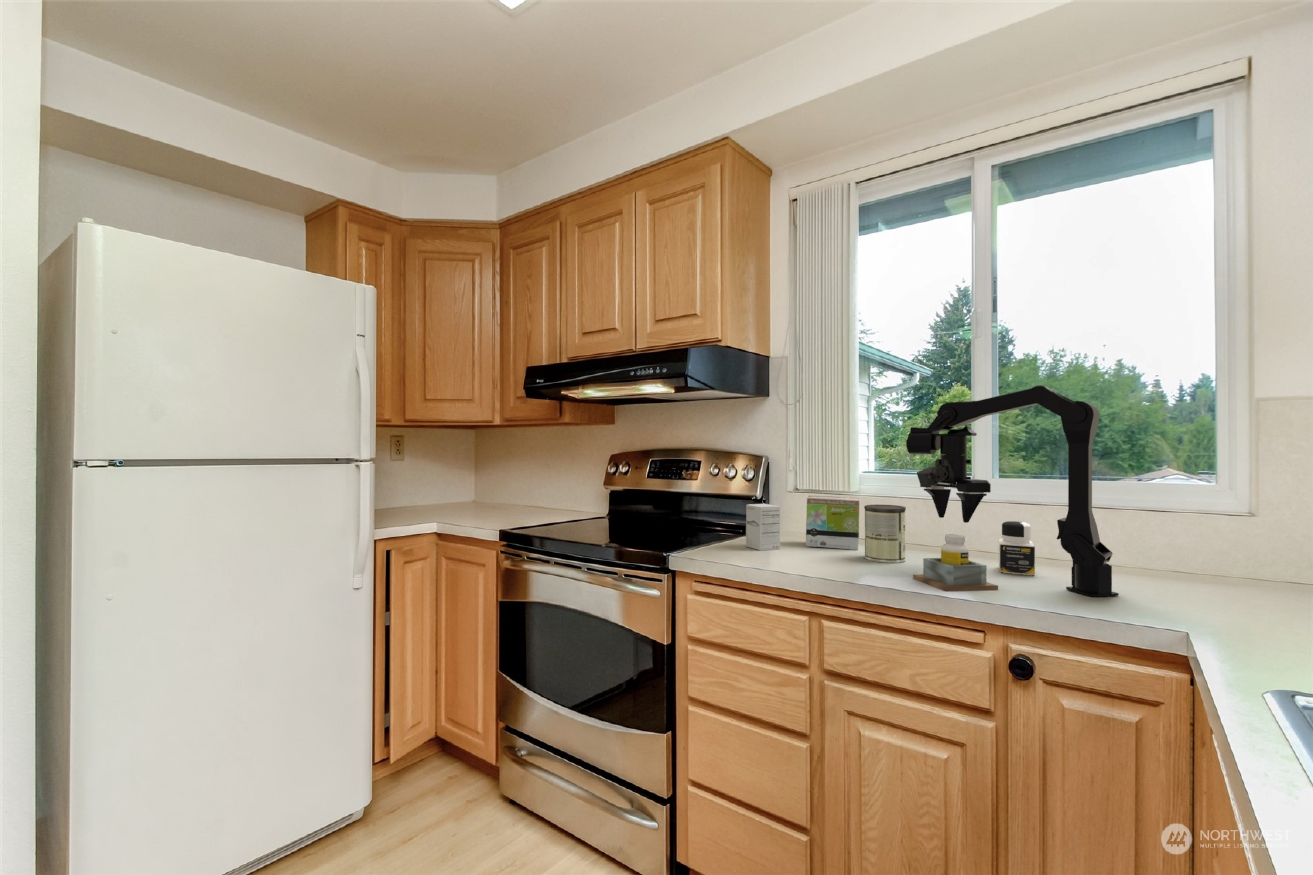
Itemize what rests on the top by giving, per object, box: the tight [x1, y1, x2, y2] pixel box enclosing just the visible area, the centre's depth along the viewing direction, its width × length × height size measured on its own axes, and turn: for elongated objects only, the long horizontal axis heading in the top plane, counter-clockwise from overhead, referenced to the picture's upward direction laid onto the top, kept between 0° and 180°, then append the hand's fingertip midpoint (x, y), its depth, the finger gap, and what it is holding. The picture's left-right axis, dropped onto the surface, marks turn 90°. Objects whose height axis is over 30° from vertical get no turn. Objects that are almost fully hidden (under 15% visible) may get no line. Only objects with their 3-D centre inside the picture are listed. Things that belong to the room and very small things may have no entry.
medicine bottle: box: [998, 520, 1036, 576], centre depth 144 cm, size 7×7×12 cm
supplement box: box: [745, 503, 781, 551], centre depth 174 cm, size 7×7×13 cm
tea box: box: [805, 495, 860, 551], centre depth 178 cm, size 15×10×15 cm, turn 73°
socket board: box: [912, 557, 999, 592], centre depth 131 cm, size 12×12×5 cm
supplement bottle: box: [940, 533, 970, 565], centre depth 131 cm, size 5×5×10 cm
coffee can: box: [863, 504, 907, 564], centre depth 158 cm, size 10×10×14 cm
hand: (953, 519), depth 143 cm, fingers open, 9 cm apart
